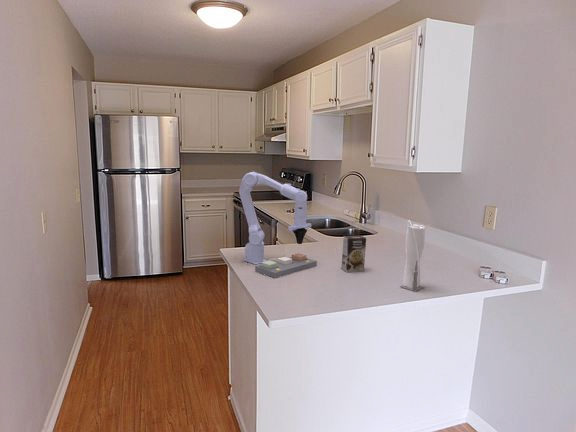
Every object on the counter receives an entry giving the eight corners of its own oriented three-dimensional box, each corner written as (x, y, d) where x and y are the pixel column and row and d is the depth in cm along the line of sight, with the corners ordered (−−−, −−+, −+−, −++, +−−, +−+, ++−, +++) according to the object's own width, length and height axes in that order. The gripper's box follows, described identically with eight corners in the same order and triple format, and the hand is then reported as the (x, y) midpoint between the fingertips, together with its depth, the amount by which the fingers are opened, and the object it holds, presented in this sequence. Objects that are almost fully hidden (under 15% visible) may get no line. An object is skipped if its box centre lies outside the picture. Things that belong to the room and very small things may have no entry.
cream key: (277, 264, 189) (277, 258, 189) (284, 262, 193) (284, 256, 192) (284, 267, 186) (284, 260, 185) (292, 265, 189) (292, 258, 189)
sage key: (261, 268, 182) (261, 262, 182) (269, 266, 186) (269, 260, 185) (268, 271, 179) (269, 264, 178) (277, 269, 182) (277, 262, 182)
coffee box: (346, 272, 185) (348, 238, 182) (341, 268, 191) (342, 235, 188) (364, 271, 188) (366, 237, 185) (358, 267, 194) (360, 234, 191)
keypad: (255, 271, 183) (255, 265, 183) (296, 260, 203) (297, 255, 203) (275, 278, 174) (275, 272, 174) (316, 266, 194) (316, 260, 194)
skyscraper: (396, 286, 168) (401, 220, 164) (406, 282, 174) (411, 218, 169) (415, 291, 162) (421, 223, 158) (424, 287, 168) (430, 221, 163)
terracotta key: (291, 260, 196) (291, 254, 196) (298, 258, 200) (298, 253, 199) (299, 263, 193) (299, 257, 193) (306, 261, 197) (306, 255, 196)
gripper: (296, 218, 185) (295, 247, 187) (316, 215, 195) (315, 242, 197) (285, 216, 190) (284, 244, 192) (305, 213, 200) (304, 240, 202)
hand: (299, 243), depth 195 cm, fingers closed
